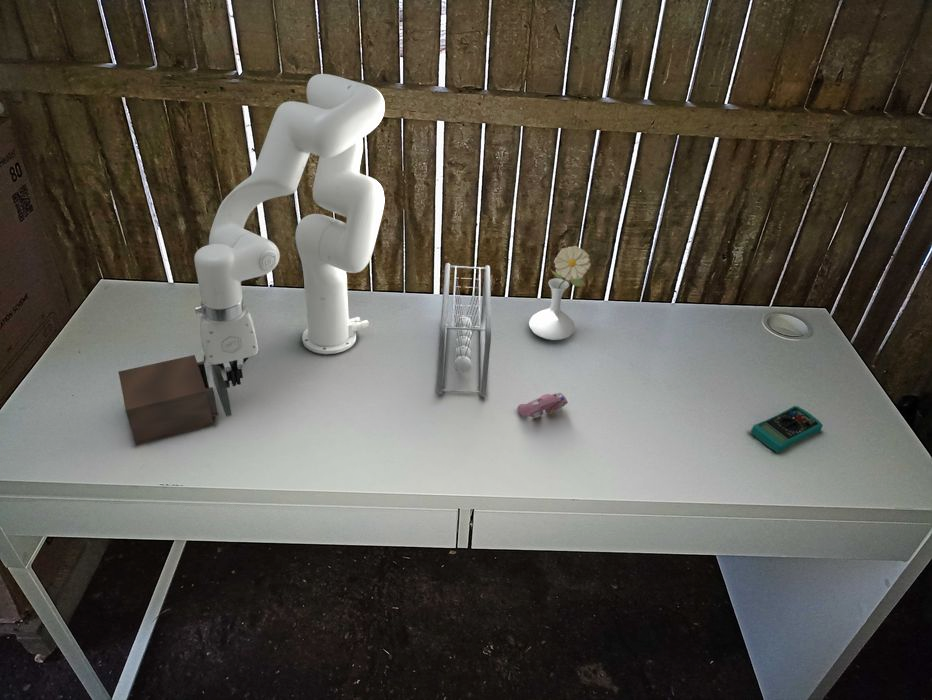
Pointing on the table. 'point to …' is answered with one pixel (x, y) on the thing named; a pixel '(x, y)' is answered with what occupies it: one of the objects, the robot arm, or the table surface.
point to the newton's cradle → (466, 330)
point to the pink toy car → (542, 405)
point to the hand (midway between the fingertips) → (235, 381)
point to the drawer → (220, 387)
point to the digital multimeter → (786, 428)
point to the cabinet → (165, 399)
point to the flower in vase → (553, 319)
